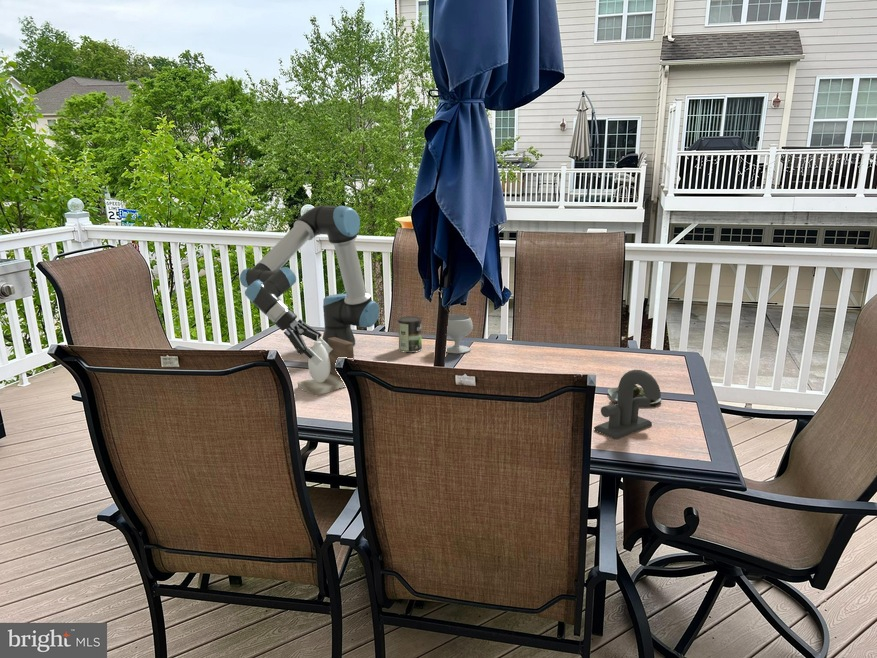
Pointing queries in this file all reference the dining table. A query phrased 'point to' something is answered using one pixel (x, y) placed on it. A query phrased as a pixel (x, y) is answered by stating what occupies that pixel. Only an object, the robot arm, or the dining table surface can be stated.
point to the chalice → (458, 332)
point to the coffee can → (410, 334)
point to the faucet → (629, 405)
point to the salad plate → (636, 393)
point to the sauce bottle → (323, 367)
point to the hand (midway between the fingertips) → (325, 357)
